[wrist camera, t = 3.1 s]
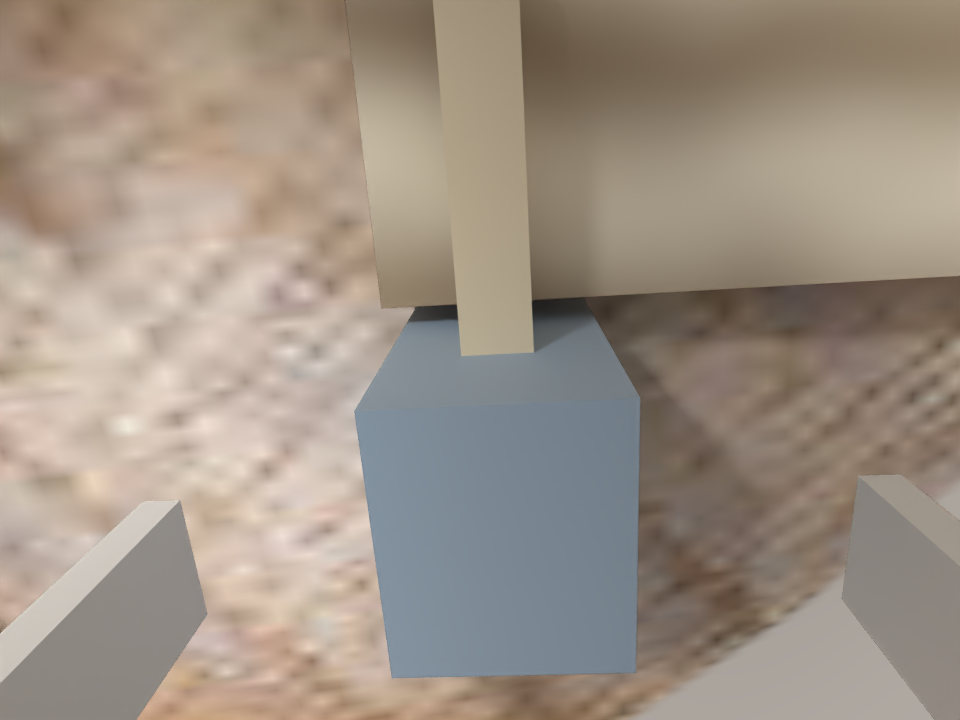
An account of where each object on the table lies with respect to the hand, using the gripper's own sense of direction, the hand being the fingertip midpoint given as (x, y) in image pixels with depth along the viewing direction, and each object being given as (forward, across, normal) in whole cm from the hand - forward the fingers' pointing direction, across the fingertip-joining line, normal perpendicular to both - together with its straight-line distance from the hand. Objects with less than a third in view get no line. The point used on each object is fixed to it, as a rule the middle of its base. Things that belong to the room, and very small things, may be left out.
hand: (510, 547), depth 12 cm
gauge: (+8, 0, +5) cm, 9 cm away
